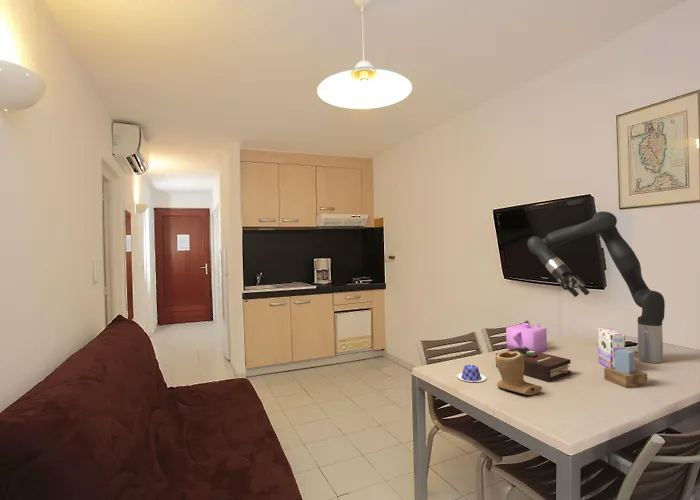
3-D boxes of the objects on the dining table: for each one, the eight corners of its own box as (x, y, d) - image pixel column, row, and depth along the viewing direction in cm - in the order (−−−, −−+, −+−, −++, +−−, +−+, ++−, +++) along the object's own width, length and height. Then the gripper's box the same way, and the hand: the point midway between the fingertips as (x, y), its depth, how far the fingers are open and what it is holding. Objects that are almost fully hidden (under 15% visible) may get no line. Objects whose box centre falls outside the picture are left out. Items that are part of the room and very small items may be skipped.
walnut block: (624, 377, 163) (624, 366, 163) (647, 386, 153) (647, 373, 153) (604, 380, 161) (604, 368, 161) (626, 388, 151) (625, 376, 151)
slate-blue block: (620, 368, 160) (620, 348, 160) (634, 371, 156) (634, 351, 156) (615, 370, 158) (614, 350, 158) (629, 373, 153) (628, 353, 153)
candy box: (626, 372, 169) (625, 334, 169) (611, 371, 170) (610, 334, 170) (611, 362, 182) (611, 327, 182) (597, 362, 184) (597, 327, 183)
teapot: (554, 347, 210) (553, 322, 210) (527, 356, 196) (527, 328, 196) (527, 342, 223) (526, 318, 223) (501, 350, 209) (500, 324, 208)
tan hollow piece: (489, 388, 155) (488, 351, 154) (507, 382, 161) (506, 346, 161) (525, 400, 142) (524, 359, 142) (543, 393, 149) (542, 354, 149)
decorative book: (552, 366, 157) (489, 351, 182) (552, 385, 157) (490, 367, 182) (577, 358, 167) (515, 344, 193) (577, 375, 167) (515, 359, 193)
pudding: (483, 385, 160) (483, 372, 159) (454, 381, 165) (453, 369, 165) (487, 376, 170) (487, 364, 170) (459, 372, 176) (459, 361, 176)
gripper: (554, 264, 183) (579, 290, 173) (572, 262, 190) (597, 288, 180) (544, 275, 187) (567, 301, 177) (561, 273, 194) (585, 298, 184)
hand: (582, 294), depth 179 cm, fingers open, 8 cm apart
